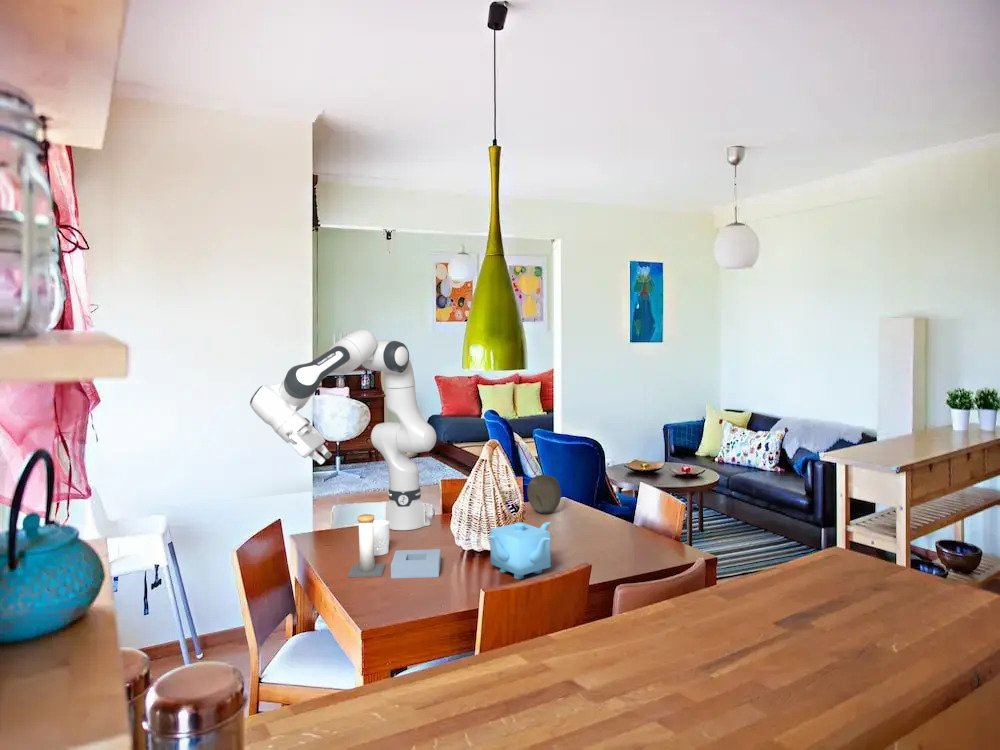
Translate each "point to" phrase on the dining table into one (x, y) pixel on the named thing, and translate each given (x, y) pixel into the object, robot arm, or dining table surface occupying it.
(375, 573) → the mat
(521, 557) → the teakettle
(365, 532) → the plug
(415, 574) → the socket
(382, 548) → the white cup
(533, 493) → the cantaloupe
